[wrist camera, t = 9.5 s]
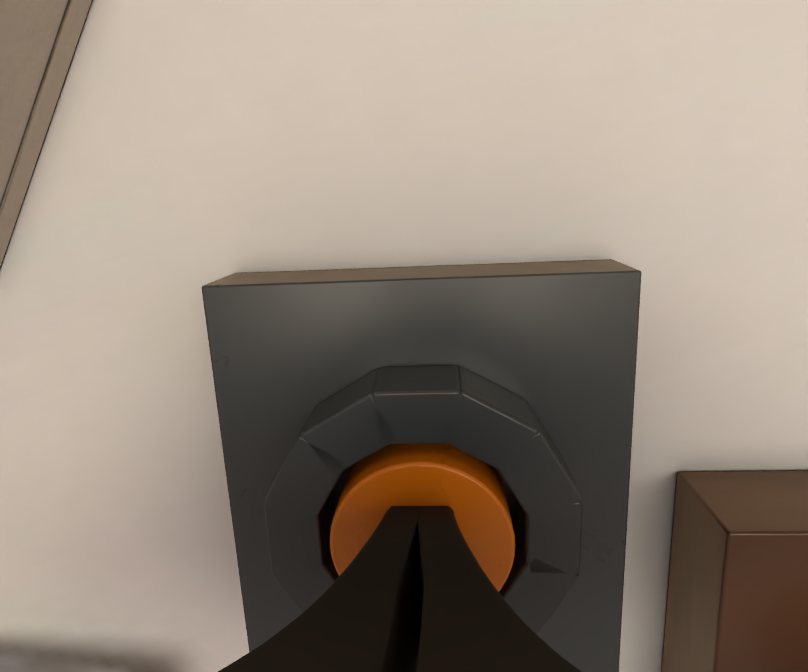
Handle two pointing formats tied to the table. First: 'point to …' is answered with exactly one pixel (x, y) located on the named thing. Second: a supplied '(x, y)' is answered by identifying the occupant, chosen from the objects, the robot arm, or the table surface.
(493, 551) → the button
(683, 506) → the control panel
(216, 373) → the button box
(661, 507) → the table surface
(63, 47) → the emergency button
